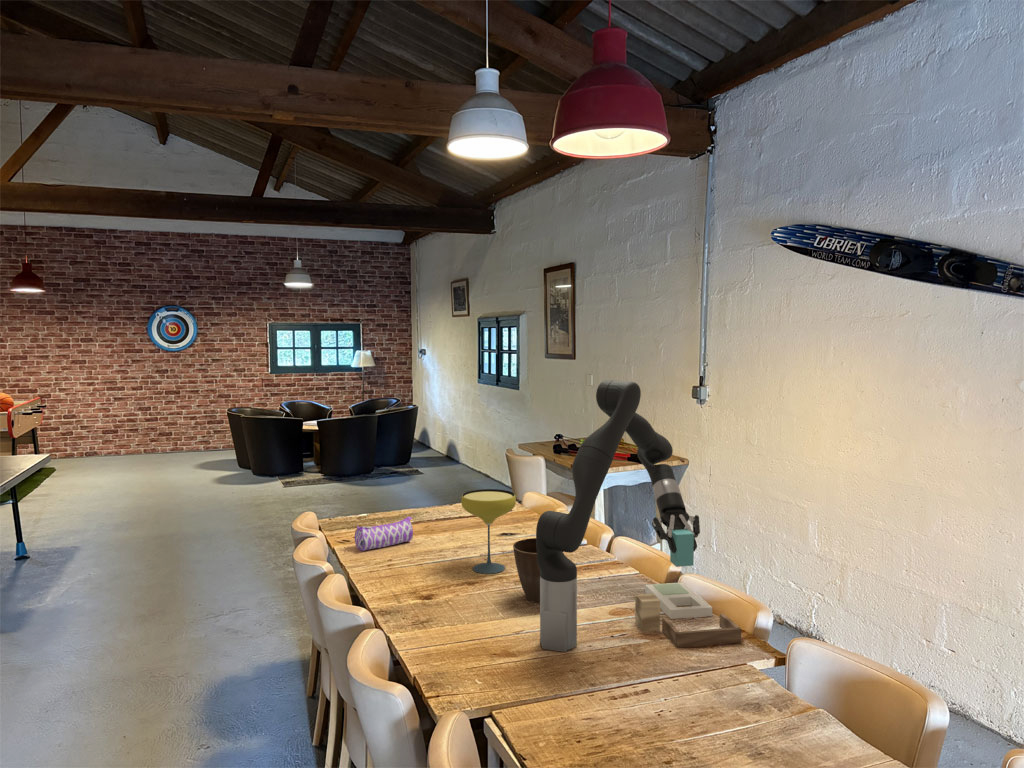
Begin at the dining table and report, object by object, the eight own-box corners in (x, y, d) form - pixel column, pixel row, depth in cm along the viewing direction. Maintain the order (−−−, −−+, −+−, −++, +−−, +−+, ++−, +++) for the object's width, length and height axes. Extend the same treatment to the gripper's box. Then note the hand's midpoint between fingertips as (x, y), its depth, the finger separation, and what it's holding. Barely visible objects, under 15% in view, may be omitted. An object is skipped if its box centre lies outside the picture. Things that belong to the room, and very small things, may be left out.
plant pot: (560, 609, 197) (560, 554, 196) (508, 606, 200) (508, 551, 199) (566, 591, 212) (566, 539, 211) (518, 587, 215) (518, 536, 214)
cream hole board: (712, 616, 192) (712, 606, 192) (670, 619, 191) (670, 609, 190) (683, 590, 212) (683, 581, 212) (645, 592, 210) (645, 584, 210)
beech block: (659, 630, 183) (660, 600, 183) (641, 631, 183) (641, 601, 182) (652, 622, 188) (653, 593, 188) (635, 623, 188) (635, 594, 187)
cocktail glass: (518, 560, 241) (518, 489, 240) (513, 578, 223) (512, 501, 222) (466, 559, 243) (466, 488, 241) (457, 577, 225) (456, 500, 224)
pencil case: (361, 554, 250) (361, 528, 249) (350, 548, 257) (350, 523, 256) (416, 543, 263) (415, 518, 262) (404, 538, 270) (404, 513, 270)
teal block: (693, 565, 194) (693, 533, 193) (676, 566, 193) (676, 534, 192) (687, 560, 198) (687, 529, 197) (670, 561, 197) (670, 530, 197)
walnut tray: (741, 642, 176) (741, 628, 176) (677, 647, 173) (677, 633, 173) (723, 626, 186) (723, 613, 185) (662, 630, 183) (662, 617, 183)
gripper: (648, 492, 200) (663, 546, 189) (695, 489, 202) (713, 543, 192) (642, 506, 206) (656, 559, 195) (688, 503, 208) (705, 555, 197)
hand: (684, 550), depth 193 cm, fingers closed on teal block, 5 cm apart
